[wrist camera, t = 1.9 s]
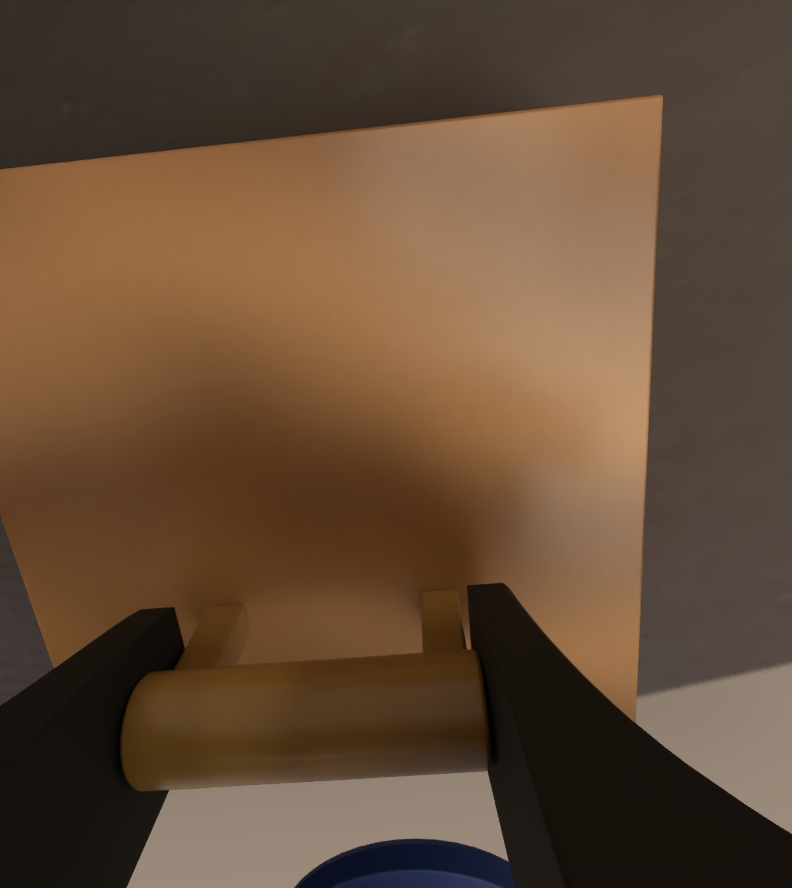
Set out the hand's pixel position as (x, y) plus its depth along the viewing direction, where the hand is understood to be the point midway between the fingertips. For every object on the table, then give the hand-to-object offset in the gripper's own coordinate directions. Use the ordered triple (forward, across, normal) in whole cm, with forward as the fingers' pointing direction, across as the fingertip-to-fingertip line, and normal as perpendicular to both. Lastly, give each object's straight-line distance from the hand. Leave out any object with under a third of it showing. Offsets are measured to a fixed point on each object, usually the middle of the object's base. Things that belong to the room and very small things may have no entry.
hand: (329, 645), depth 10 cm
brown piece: (+2, 0, -2) cm, 3 cm away
